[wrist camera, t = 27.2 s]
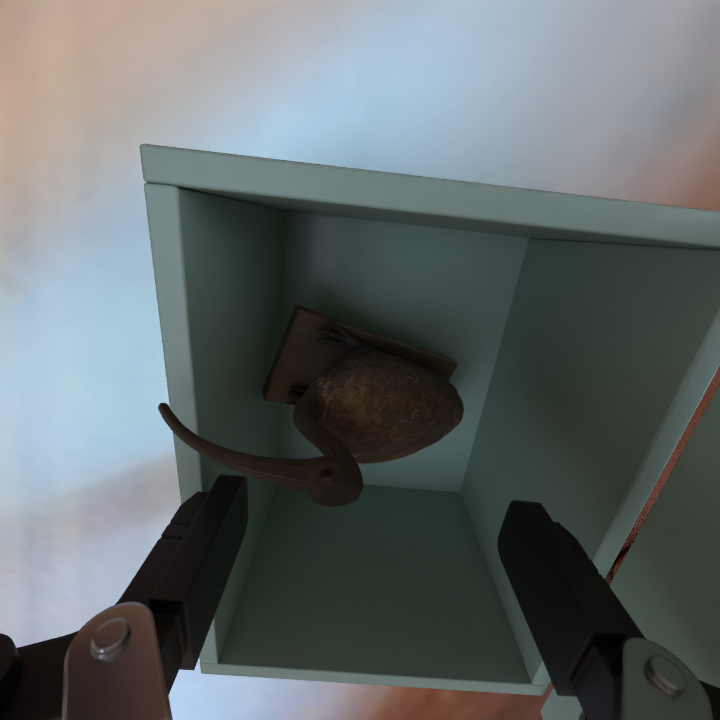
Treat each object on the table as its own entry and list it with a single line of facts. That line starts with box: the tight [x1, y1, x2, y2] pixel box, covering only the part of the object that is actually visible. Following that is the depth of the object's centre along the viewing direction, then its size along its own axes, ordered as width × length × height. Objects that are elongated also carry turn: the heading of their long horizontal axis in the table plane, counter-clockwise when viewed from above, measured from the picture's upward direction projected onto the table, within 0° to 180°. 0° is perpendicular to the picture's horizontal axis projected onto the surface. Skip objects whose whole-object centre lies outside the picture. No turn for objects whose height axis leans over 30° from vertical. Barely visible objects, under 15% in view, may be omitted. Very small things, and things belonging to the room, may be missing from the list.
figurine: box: [158, 305, 464, 507], centre depth 13 cm, size 14×4×9 cm, turn 64°
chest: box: [140, 144, 720, 695], centre depth 15 cm, size 14×18×11 cm
